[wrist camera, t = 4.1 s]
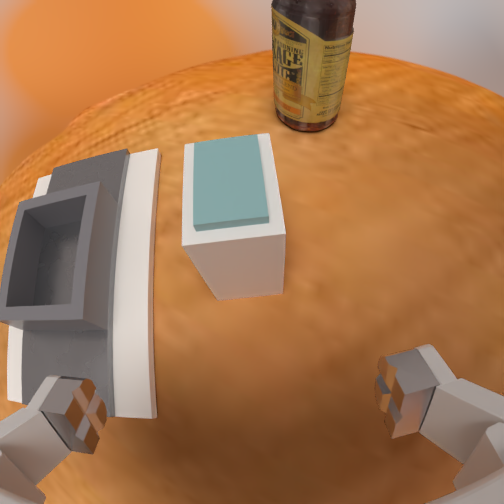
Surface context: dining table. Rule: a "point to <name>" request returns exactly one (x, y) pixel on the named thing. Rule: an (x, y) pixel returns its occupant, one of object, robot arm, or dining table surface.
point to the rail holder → (85, 282)
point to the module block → (234, 216)
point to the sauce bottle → (310, 59)
